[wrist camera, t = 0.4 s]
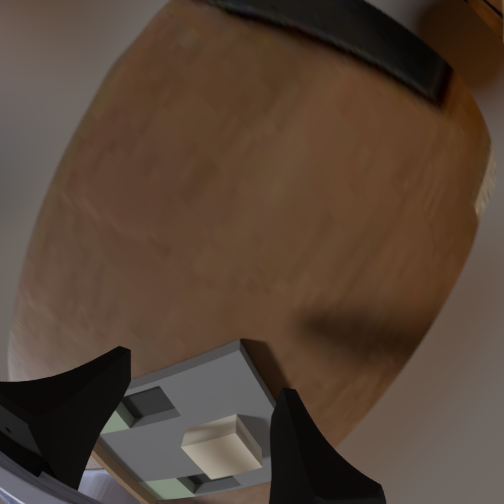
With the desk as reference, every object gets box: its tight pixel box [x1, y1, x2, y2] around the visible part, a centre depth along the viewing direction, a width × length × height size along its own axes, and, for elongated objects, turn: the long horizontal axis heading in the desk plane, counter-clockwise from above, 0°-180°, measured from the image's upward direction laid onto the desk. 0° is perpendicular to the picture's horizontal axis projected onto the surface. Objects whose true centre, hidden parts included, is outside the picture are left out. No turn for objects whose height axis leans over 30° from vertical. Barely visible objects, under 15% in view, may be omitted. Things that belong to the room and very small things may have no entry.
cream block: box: [181, 414, 263, 479], centre depth 21 cm, size 5×5×2 cm
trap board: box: [91, 339, 276, 504], centre depth 22 cm, size 20×16×4 cm
